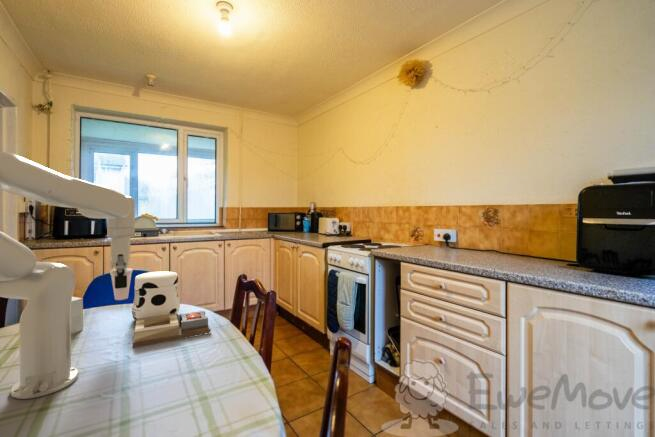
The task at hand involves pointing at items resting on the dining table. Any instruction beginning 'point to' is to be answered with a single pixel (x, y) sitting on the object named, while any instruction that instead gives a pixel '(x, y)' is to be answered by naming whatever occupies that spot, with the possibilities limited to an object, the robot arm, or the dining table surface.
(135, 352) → the dining table surface
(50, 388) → the robot arm
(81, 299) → the skincare box
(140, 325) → the wooden tray with button
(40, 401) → the dining table surface
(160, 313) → the milk container
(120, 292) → the smoothie
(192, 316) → the button
